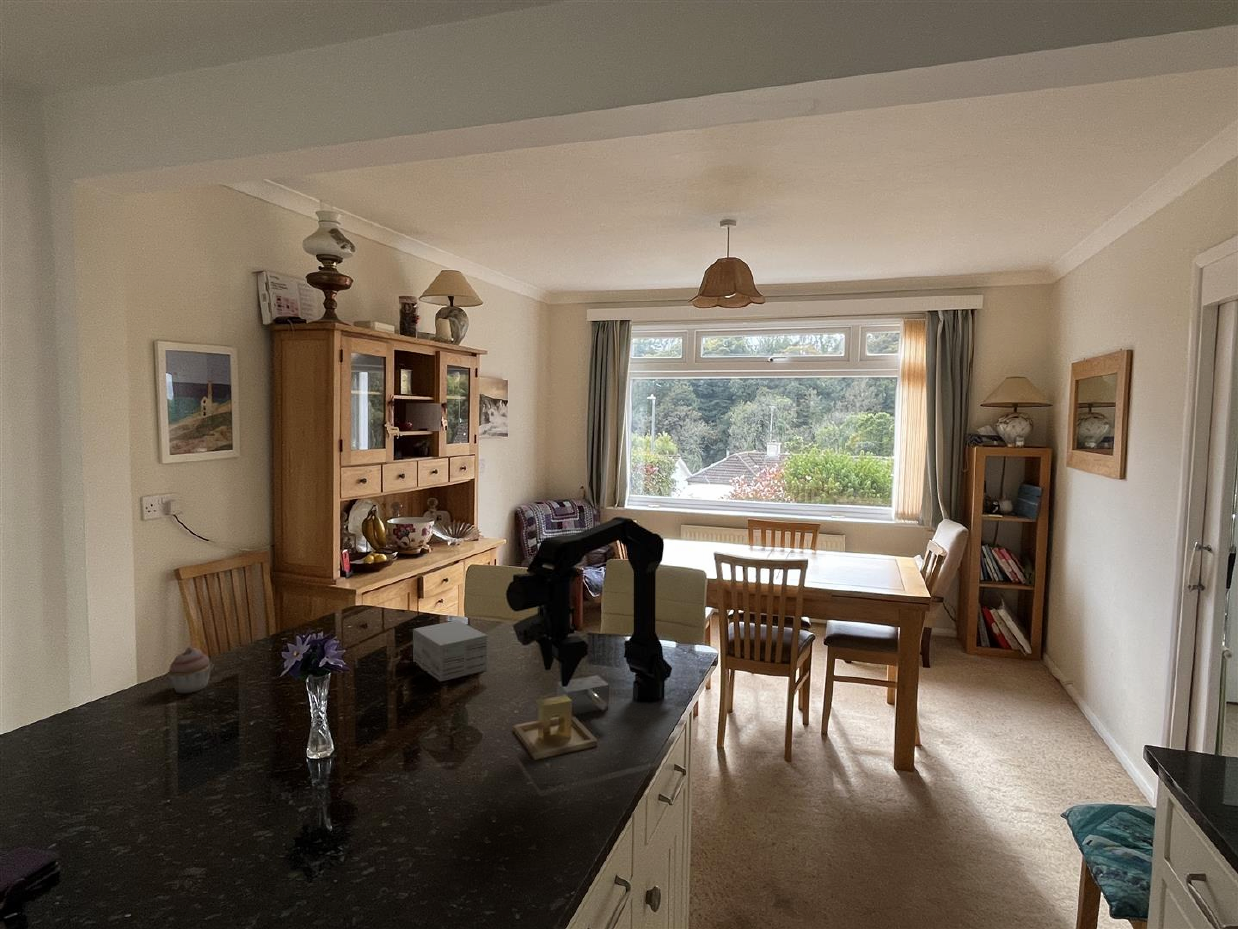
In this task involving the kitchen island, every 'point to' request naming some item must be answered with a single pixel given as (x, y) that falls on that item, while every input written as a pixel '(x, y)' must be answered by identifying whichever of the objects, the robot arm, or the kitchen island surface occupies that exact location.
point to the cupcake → (190, 671)
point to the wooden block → (548, 710)
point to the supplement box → (450, 650)
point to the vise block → (586, 694)
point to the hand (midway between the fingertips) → (555, 678)
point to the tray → (539, 750)
